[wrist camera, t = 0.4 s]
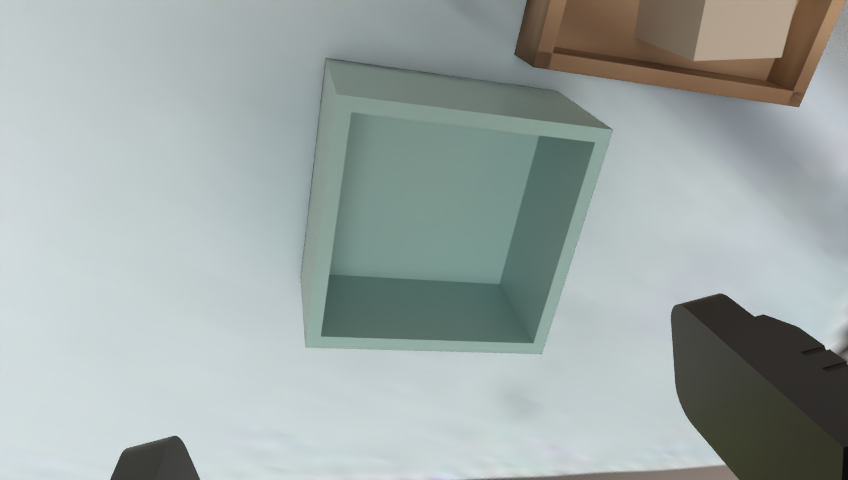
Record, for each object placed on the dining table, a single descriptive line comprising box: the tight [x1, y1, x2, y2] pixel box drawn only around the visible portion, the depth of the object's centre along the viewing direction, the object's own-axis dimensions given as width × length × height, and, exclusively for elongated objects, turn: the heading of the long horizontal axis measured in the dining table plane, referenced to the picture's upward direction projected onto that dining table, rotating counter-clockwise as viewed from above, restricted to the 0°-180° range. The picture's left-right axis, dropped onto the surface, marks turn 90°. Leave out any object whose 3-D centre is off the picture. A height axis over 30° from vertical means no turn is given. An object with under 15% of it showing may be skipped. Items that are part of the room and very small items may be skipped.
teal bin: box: [301, 58, 613, 354], centre depth 30 cm, size 11×11×6 cm
